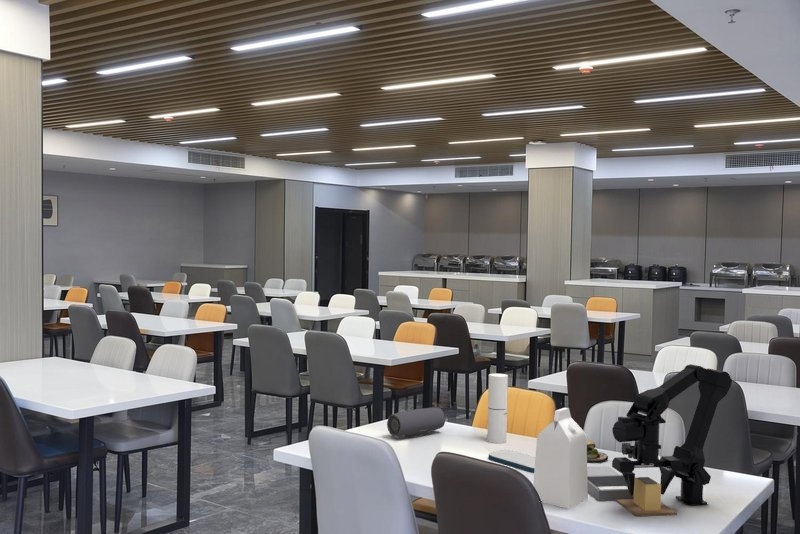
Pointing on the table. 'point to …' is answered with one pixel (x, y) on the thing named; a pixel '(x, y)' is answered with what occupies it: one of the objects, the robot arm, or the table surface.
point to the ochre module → (647, 493)
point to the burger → (594, 453)
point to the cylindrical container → (497, 408)
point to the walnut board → (641, 512)
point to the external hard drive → (514, 459)
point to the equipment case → (606, 484)
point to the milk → (561, 462)
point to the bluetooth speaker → (415, 422)
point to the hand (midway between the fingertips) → (646, 494)
